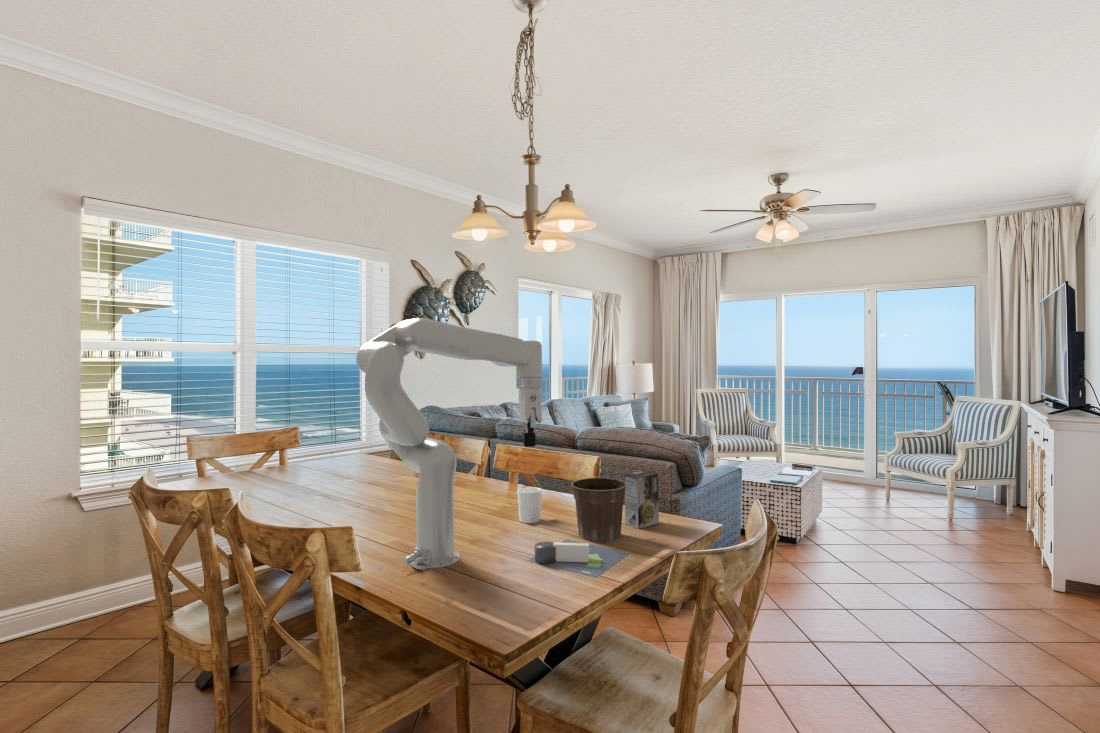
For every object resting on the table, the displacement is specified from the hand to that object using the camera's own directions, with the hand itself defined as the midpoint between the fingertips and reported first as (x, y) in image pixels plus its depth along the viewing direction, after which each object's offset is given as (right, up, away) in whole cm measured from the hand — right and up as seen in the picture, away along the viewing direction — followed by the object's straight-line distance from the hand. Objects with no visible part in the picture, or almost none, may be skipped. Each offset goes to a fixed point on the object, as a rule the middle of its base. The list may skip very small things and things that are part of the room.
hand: (529, 446), depth 159 cm
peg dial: (+11, -26, -20) cm, 35 cm away
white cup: (-1, -27, +18) cm, 32 cm away
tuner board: (+14, -27, -17) cm, 35 cm away
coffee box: (+35, -27, +14) cm, 46 cm away
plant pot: (+20, -27, +1) cm, 34 cm away
